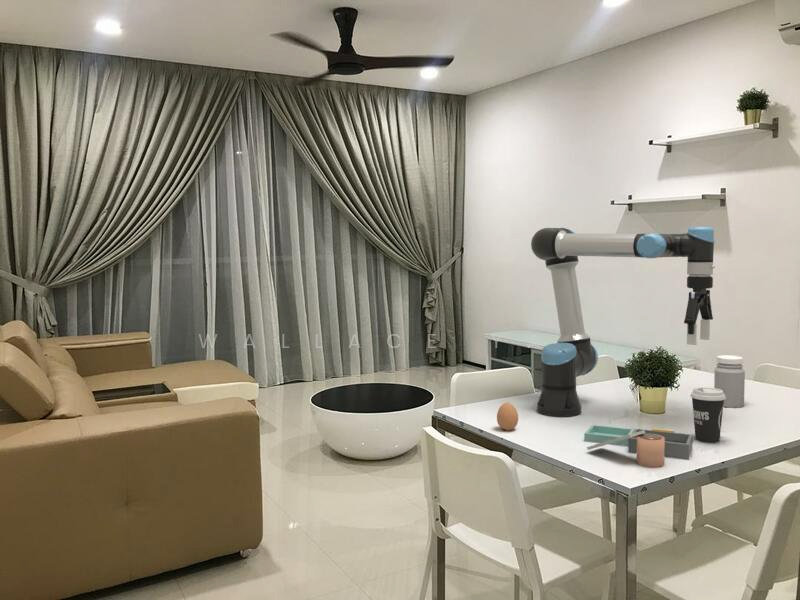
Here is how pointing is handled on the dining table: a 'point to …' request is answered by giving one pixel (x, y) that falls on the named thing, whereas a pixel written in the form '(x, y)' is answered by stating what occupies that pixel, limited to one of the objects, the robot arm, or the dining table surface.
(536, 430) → the dining table surface
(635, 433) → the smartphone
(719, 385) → the jar
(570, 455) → the dining table surface
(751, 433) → the dining table surface
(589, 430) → the trough
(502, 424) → the egg
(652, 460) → the salmon cylinder
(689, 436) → the grey storage tray
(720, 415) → the coffee cup
